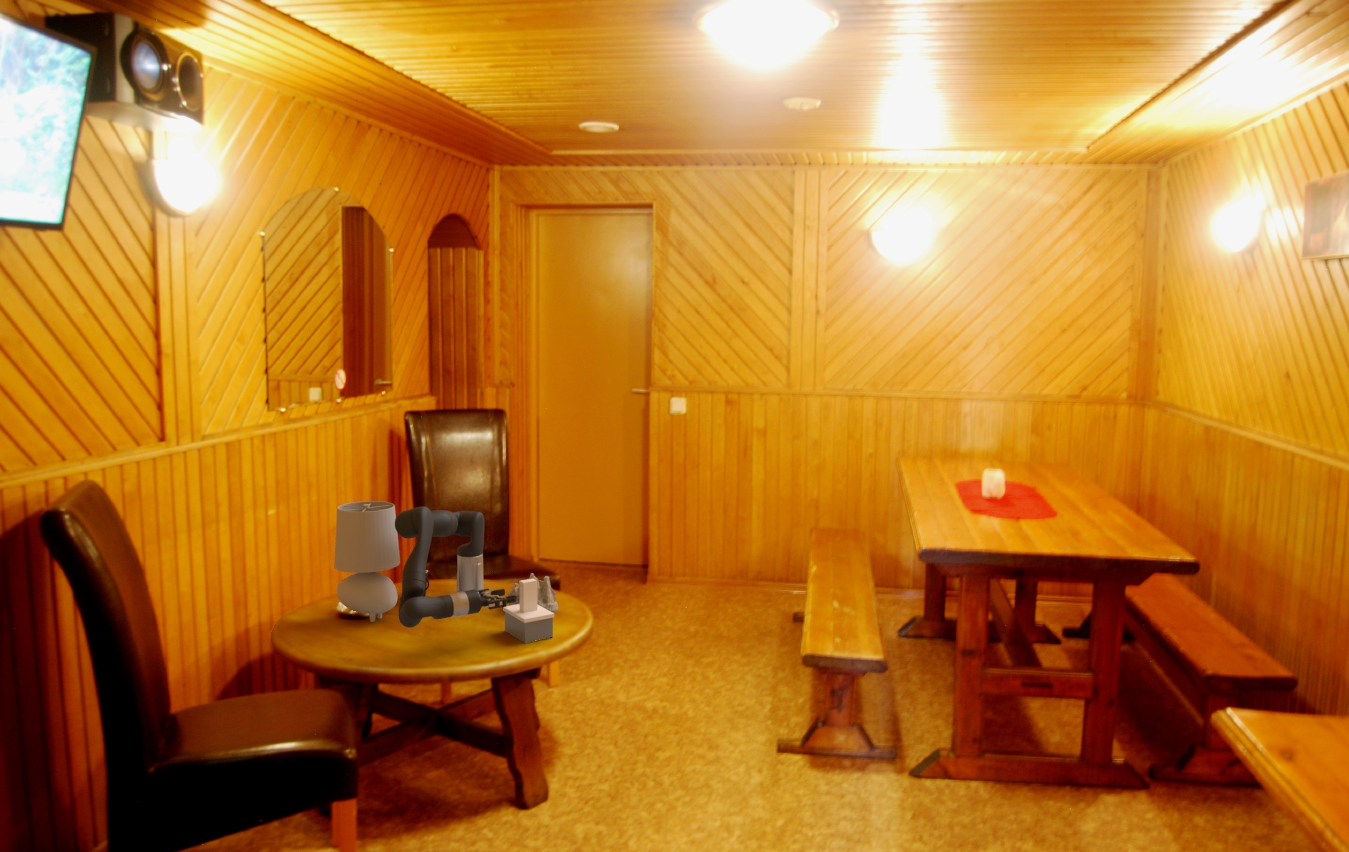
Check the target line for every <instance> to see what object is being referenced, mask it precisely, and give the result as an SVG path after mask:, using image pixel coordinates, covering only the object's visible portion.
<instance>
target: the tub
mask: <svg viewBox="0 0 1349 852" xmlns="http://www.w3.org/2000/svg"><path fill="white" fill-rule="evenodd" d="M553 628H554V617H553V618H548V619H543V620H537V621H532V622H527V623H524V622H522V621H520V620H519V619H517V618H515V617H514V616H512V615H510V614H508V613H507V612H505V611H504V632H505V633H508V634H509V633H510V635H511V636H513V637H514V638H516V639H517V640H519V641H520V640H521V642H522V643H524V644H529V643H528V642H530V643H534V642H533V641H535V640H539V639H545V638H549V639H551V638H550V637H553V636H554V629H553ZM553 638H554V637H553ZM545 640H546V639H545ZM535 642H536V641H535Z"/></svg>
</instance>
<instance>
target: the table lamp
mask: <svg viewBox="0 0 1349 852" xmlns="http://www.w3.org/2000/svg"><path fill="white" fill-rule="evenodd" d="M396 517H397V515H396V506H395V504H394V503H392V502H388V501H381V500H380V501H377V500H375V501H373V500H371V501H367V500H366V501H357V502H356V501H355V502H354V501H352V502H348V503H343V504H341V505H338V506H337V508H336V524H335V525H336V526H335V542H334V543H335V547H334V563H333V565H334V566H333V567H334V569H335V570H336V571H339V572H344V573H353V574H351V575H349V576H347V577H345V578H343V579H342V580H341V581H340V582H339V583H338V584H337V587H336V594H337V597H338V600H339V601H340V603H341V604H342V605H343V606H344V607H346V608H347V609H348V610H349V609H350V610H353V611H356V613H361V614H368V616H369V621H370V623H373V622H375V621H376V618H377V619H378V620H379V619H383V614H384V613H386V612H389V611H390V610H392V609H393V608H394V607H395V606H396V605H397V602H398V596H399V595H398V590H397V588H396V586H395V584H394V582H393V581H392V579H390V578H389V577H388V576H387V575H385V574H384V573H381V571H387V570H391V569H395V568H396V567H398V566H400V564H401V556H400V549H399V548H400V546H399V538H398V537H399V536H398V535H399V534H398V532H397V531H396V529H395V519H396ZM350 610H349V611H350Z"/></svg>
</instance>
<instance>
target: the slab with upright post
mask: <svg viewBox="0 0 1349 852" xmlns="http://www.w3.org/2000/svg"><path fill="white" fill-rule="evenodd" d="M518 583H519V584H518V587H519V592H520V604H516V605H511V606H508V605H507V606H506V607H502V610H503V612H504V613H505V612H507V613H508V614H510V615H512V616H514V617H515V618H517V619H519V620H520V621H522V622H524V623H527V622H532V621H537V620H543V619H548V618H553V619H554V618H555V613H554V612H551V611H549V610H547V609H545V608H543V607H541V606H539V605H537V580H535V579H529V578H527V579H522V580H519V582H518Z"/></svg>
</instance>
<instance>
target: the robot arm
mask: <svg viewBox="0 0 1349 852" xmlns="http://www.w3.org/2000/svg"><path fill="white" fill-rule="evenodd" d="M395 529H396V531H397V535H399V536H400V537H402V538H404V539H408V540H409V539H414V538H417V539H416V542H415V544H414V548H413V549H412V550H411V552H410V554H409V556H408V557H407V559H406V561H405V564H404V566H403V569H402V575H401V576H402V579H401V594H400V600H399V607H398V615H397V616H398V621H399V623H400V624H401V625H402V626H403V627H405V628H414V627H417V626H418V625H419V624H420V623H421V621H422V620H423V618H429V617H430V618H432V619H434V620H442V619H447V618H452V617H453V618H454V617H457V618H458V617H462V616H468V615H475V614H478V613H480V612H481V609H482V608H483V607H484V608H488V610H494V609H495V610H496V609H501V608H502V609H503V607H506V606H508V605H509V603H514V602H516V596H515V595H512V596H508V595H507V596H505V595H506V589H504V588H500V589H489V588H484V545H485V539H484V538H485V517H484V514H483V513H482V512H481V511H472V510H459V511H455V512H453V511H450V510H443V509H437V510H436V509H435V510H431V509H430V508H429V507H427V506H418V507H413V508H409V509H406V510H403V511H401V512H399V513H398V514H397V515H396V519H395ZM452 535H456V536H459V537H470V541H469V542H468V543H464V544H461V545H459V546H458V547H457V549H456V551H457V552H456V553H457V554H456V555H457V573H456V592H452V593H450V594H444V595H443V594H442V595H438V596H427V595H426V596H423V594H424V591H425V578H426V570H427V562H428V556H429V552H430V547H431V543H432V538H433V537H435V538H436V537H437V538H445V537H450V536H452ZM507 604H508V605H507Z"/></svg>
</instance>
